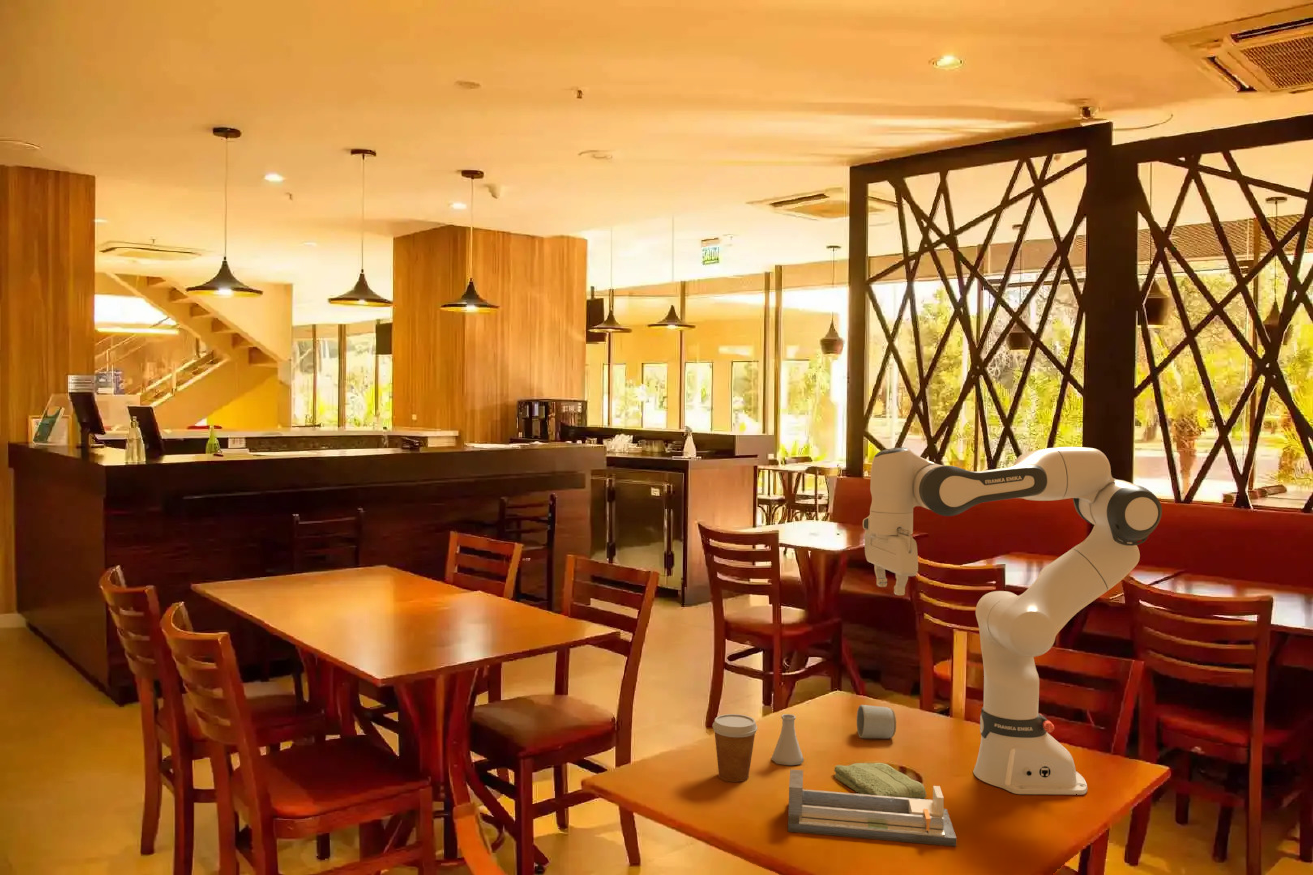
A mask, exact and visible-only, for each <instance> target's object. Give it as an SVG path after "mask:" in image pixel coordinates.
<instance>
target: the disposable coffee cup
mask: <svg viewBox="0 0 1313 875" xmlns="http://www.w3.org/2000/svg"><path fill="white" fill-rule="evenodd" d="M756 722H757V721H756V720H755V718H753V717H751V716H748V715H745V714H744V715H743V714H738V713H727V714H720V715H718V716H716V717H714V721H713V723H712V725H711V726H712V729H713V732H714V737H715V739H714V740H715V750H716V758H717V760H716V761H717V769H718V777H719V778H720V779H721V780H723V781H726V782H732V783H741V782H745V781H746V780H748V779H749V777H750V769H751V762H752V756H753V749H754V744H755V743H754V742H755V737H756V733H757V731H758V726H757V723H756Z"/></svg>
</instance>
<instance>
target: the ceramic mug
mask: <svg viewBox="0 0 1313 875" xmlns="http://www.w3.org/2000/svg"><path fill="white" fill-rule="evenodd" d="M856 731H857V734H858V737H859V738H861V739H882V740H883V739H892V738H894V736H895V734H896V732H897V717H896V713H895V710H894V709H892V708H890V707H886V706H878V705H877V706H876V705H868V704H860V705H859V706H858V708H857V711H856Z"/></svg>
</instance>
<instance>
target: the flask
mask: <svg viewBox="0 0 1313 875" xmlns="http://www.w3.org/2000/svg"><path fill="white" fill-rule="evenodd" d="M780 717H781V719H782V725H781V731H780V734H779V737H778V740H777V743H776V745H775V747H774V751H773V752H772V756H771V758H770V759H771V760H772V761H773V762H774V763H775V764H777V765H785V766H796V765H797V766H798V765H802V764H803V761H804V757H803V756H804V755H803V753H802V750H801V747H800V744H799V740H798V738H797V732H796V727H795V720H796V715H794V714H791V713H783V714H782V715H780Z"/></svg>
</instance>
